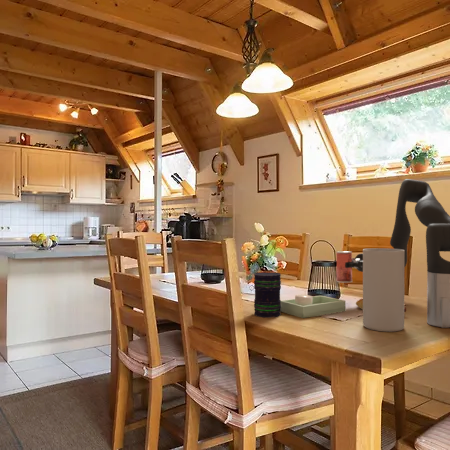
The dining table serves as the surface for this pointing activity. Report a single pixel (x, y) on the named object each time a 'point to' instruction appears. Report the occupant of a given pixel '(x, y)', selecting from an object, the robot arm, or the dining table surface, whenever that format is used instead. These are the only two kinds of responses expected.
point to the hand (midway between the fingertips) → (339, 264)
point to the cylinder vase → (383, 289)
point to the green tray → (313, 307)
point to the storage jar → (267, 294)
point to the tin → (343, 266)
